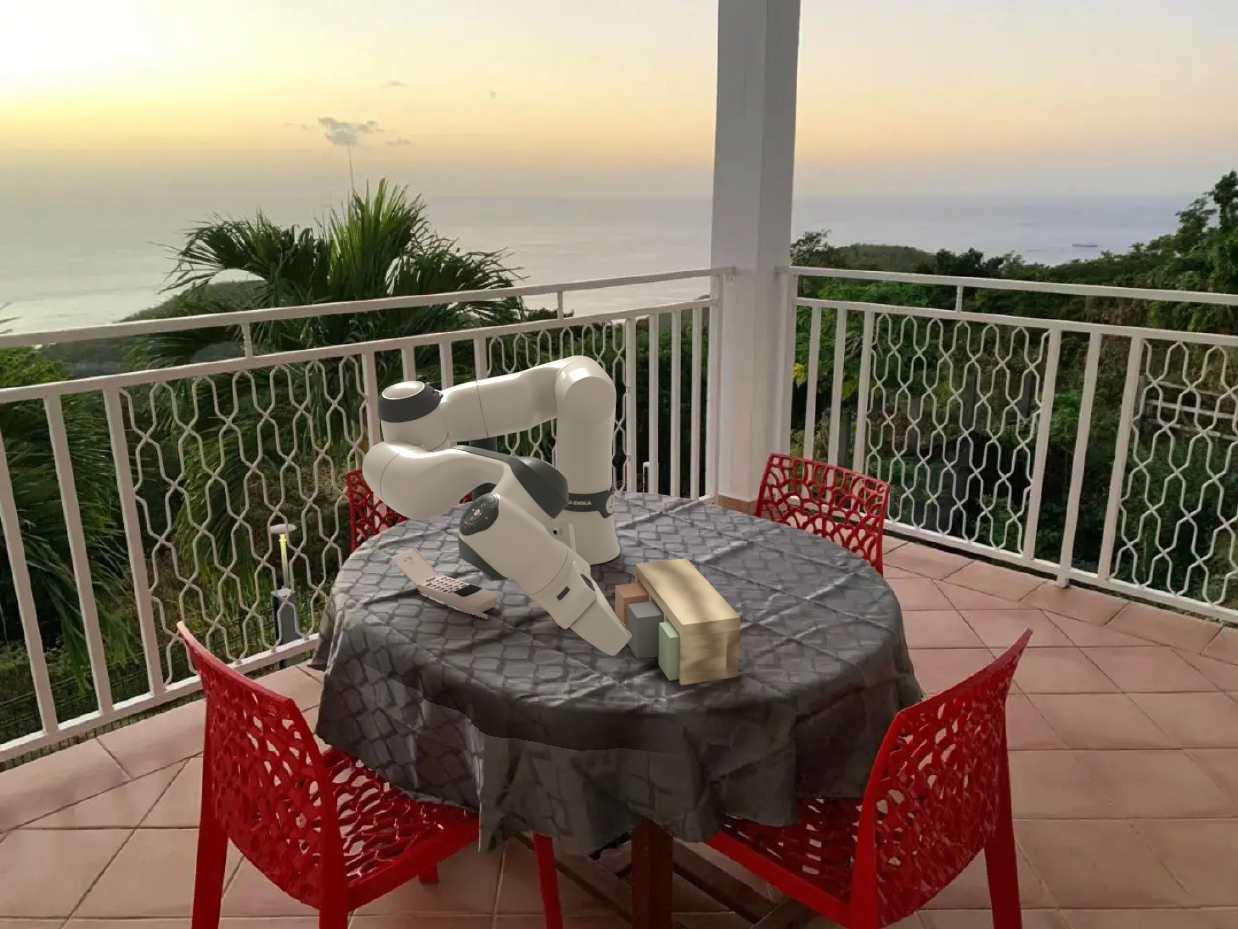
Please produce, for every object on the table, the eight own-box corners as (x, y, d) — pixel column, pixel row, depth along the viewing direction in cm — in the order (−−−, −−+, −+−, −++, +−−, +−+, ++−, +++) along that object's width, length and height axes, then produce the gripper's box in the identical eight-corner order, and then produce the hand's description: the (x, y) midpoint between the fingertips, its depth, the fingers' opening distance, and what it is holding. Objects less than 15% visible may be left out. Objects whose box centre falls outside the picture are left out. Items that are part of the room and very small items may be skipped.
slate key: (637, 659, 140) (637, 618, 138) (627, 644, 145) (627, 604, 143) (679, 653, 142) (680, 612, 140) (669, 638, 147) (670, 599, 145)
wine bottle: (505, 526, 197) (500, 391, 188) (485, 533, 193) (479, 395, 184) (488, 520, 201) (482, 387, 192) (468, 527, 197) (461, 391, 188)
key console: (681, 686, 133) (682, 624, 130) (635, 618, 154) (635, 563, 151) (738, 678, 135) (740, 617, 132) (685, 611, 157) (686, 558, 154)
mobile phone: (413, 546, 171) (506, 580, 156) (416, 575, 172) (508, 611, 157) (387, 556, 166) (480, 592, 151) (390, 586, 168) (482, 624, 153)
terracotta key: (623, 637, 147) (623, 597, 145) (615, 623, 152) (615, 585, 150) (664, 631, 149) (664, 592, 147) (655, 618, 154) (655, 580, 152)
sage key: (669, 680, 134) (669, 637, 132) (658, 664, 139) (659, 622, 137) (713, 674, 136) (714, 631, 134) (701, 658, 140) (702, 617, 138)
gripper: (530, 568, 136) (593, 620, 141) (559, 629, 117) (631, 686, 123) (559, 538, 136) (621, 590, 141) (593, 594, 117) (663, 652, 123)
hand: (626, 635), depth 132 cm, fingers closed
